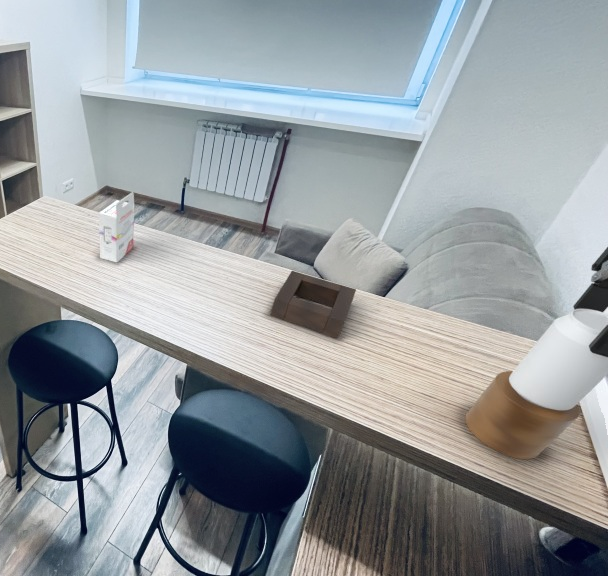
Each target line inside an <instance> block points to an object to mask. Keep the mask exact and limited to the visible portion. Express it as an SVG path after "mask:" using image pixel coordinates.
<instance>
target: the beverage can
mask: <svg viewBox="0 0 608 576" xmlns="http://www.w3.org/2000/svg"><path fill="white" fill-rule="evenodd" d="M607 325H608V313H607V312H600V311H596V310H591V309H575V310H574V309H573V310H572V311H571V312H570V313H567V314H564V315H561V316H560V317H557V318H555V319H554V320H553V322H552V323H551V324H550V325H549V326H548V327H547V329H546V330H544V332H543V333H542V335H541V336H540V337H539V339H537V341H536V342H535V344H533V346H532V347H531V349H530V350H529V351H528V352H527V354H526V355H525V356H523V358H522V359H521V361H520V362H519V363H518V365H517V366H516V367H515V368H514V369H513V370H512V371H513V372H512V373H511V375H510V377H509V382H510V384H511V386H512V387H513V388H514V390H515V391H516V392H517V393H518V394H519V395H520V396H521V397H523V398H524V399H526V400H527V401H529V402H531V403H533V404H535V405H538V406H540V407H544V408H549V409H554V410H569V409H572V408H573V407H574V406H575V405H579V404H578V403H580V402H581V401H582V400H583V399H584V398H585V397H586V396H587V395H589V394H590V392H592V390H594V388H595V387H596V386H597V385H598V384H599V383H601V381H602V380H604V379H605V377H607V375H608V357H605V356H601V355H598V354H594V353H592V352H591V351H590V349H589V345H590V343H591V342H592V341H593V340H594V339H595V338H596V337H597V336H598V335H599V333H600V332H601V331H602V330H603V329H604V328H605V327H606V326H607Z"/></svg>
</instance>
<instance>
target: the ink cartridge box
mask: <svg viewBox="0 0 608 576" xmlns="http://www.w3.org/2000/svg"><path fill="white" fill-rule="evenodd" d="M134 230H135V193H134V191H131V192H130V193H129V194H128V195H125V196H124V197H123V198H121V199H120V200H118V199H116V200H115V201H113V202H112V203H111V204H109V205H108V206H106V207H105V208H103V210H101V211H99V212H98V231H99V258H100V259H102V260H105V261H109V262H112V263H113V262H114V263H119V262H120V261H121V260H122V259H123V258H124V257H125V256H126V255H127V254H128V253H129V252H130V251H131V250H132V249H133V248H134V236H135V235H134V232H135V231H134Z"/></svg>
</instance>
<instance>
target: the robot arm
mask: <svg viewBox="0 0 608 576" xmlns="http://www.w3.org/2000/svg"><path fill="white" fill-rule="evenodd" d="M590 269H591V271H593V272H595V273H594V274H592V276H591V278H590V282H591V283H590V285H588V287H587V289H586V290H584V292H583V293H582V295H581V296H580V297H579V298H578V300H577V301H576V302H575V303H574V304H573V310H575V309H591V310H596V311H600V312H603V313H605V311H606V310H607V309H608V246H607V247H606V248H605V249H604V250H603V252H602V253H601V254H600V255H599V257H598V258H597V259H596V260H595V261H594V263H592V265H591V268H590ZM589 349H590V351H591V352H592V353H594V354H598V355H601V356H605V357H608V325H607V326H606V327H605V328H604V329H603V330H602V331H601V332H600V333H599V335H598V336H597V337H596V338H595V339H594V340H593V341H592V342H591V343H590V345H589Z"/></svg>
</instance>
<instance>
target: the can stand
mask: <svg viewBox="0 0 608 576" xmlns="http://www.w3.org/2000/svg"><path fill="white" fill-rule="evenodd" d="M356 291H357V289H356V288H353V287H350V286H347V285H342V284H339V283H336V282H333V281H329V280H326V279H322V278H319V277H317V276H312V275H309V274H305V273H301V272H299V271H295V270H291V271H290V274H289V275H288V276H287V278H286V279H285V281H284V283H283V284H282V286H281V288H280V289H279V291H278V293H277V295H275V298H274V301H273V304H272V307H271V311H270V314H269V315H270V316H271V317H274V318H277V319H279V320H284V321H286V322H287V323H292V324H294V325H297V326H300V327H303V328H305V329H309V330H312V331H314V332H317V333H320V334H322V335H326V336H328V337H330V338H334V339H339V337H340V334H341V332H342V330H343V328H344V325H345V323H346V321H347V317H348V315H349V311H350V308H351V306H352V302H353V300H354V297H355V295H356ZM297 297H299V298H297ZM301 298H302V299H301ZM307 300H308V301H307ZM310 301H311V302H310ZM319 304H320V305H319ZM322 305H323V306H322ZM326 306H327V307H326ZM328 307H330V308H328Z"/></svg>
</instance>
